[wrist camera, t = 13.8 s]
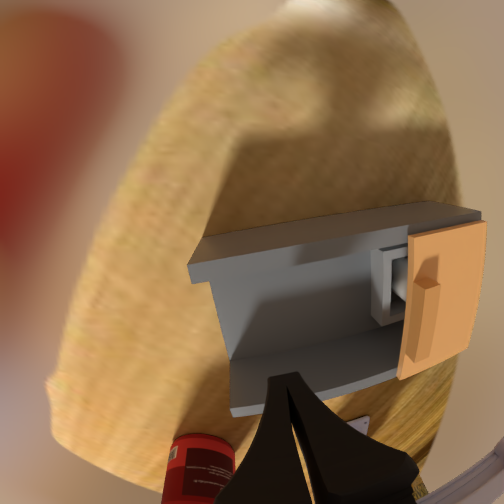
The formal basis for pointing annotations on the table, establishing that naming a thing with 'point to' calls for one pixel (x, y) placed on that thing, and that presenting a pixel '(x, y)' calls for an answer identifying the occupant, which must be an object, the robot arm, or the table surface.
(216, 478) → the canned food
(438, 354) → the lid
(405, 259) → the white rounded piece
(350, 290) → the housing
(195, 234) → the table surface
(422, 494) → the sauce bottle
